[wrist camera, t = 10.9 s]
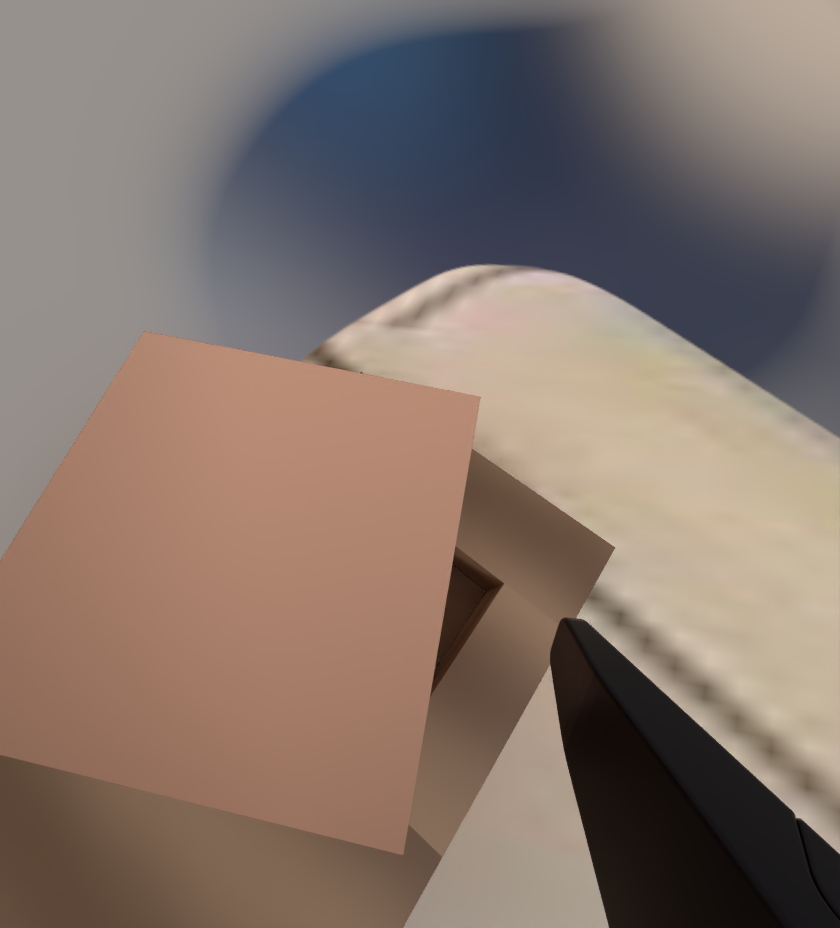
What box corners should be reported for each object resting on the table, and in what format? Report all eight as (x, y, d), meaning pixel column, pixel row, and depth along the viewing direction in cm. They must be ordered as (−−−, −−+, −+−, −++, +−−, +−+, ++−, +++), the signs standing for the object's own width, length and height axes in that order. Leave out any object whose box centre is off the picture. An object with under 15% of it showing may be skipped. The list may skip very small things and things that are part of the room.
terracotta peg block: (403, 672, 15) (403, 854, 3) (301, 648, 15) (-105, 728, 3) (424, 566, 16) (480, 396, 4) (331, 546, 16) (144, 331, 5)
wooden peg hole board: (73, 1421, 9) (-80, 1791, 6) (-178, 967, 11) (-368, 1078, 8) (580, 561, 17) (615, 547, 14) (367, 408, 19) (360, 372, 16)
